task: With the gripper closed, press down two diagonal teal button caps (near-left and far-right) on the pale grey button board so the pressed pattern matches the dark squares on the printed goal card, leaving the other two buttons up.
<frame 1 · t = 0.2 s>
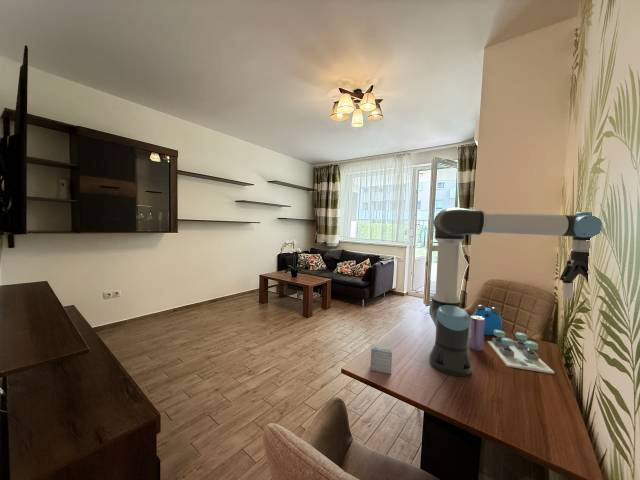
hand: (578, 303, 102), 27 cm above the table, fingers open, 13 cm apart
button 2: (531, 347, 110), point 5 cm above the table, slide at 0.0 cm
alarm clock: (485, 333, 136), on the table
button 4: (521, 338, 118), point 5 cm above the table, slide at 0.0 cm
beverage can: (475, 348, 119), on the table
medicine box: (380, 370, 99), on the table
board: (517, 356, 112), on the table
button 3: (499, 335, 121), point 5 cm above the table, slide at 0.0 cm
button 1: (507, 344, 112), point 5 cm above the table, slide at 0.0 cm
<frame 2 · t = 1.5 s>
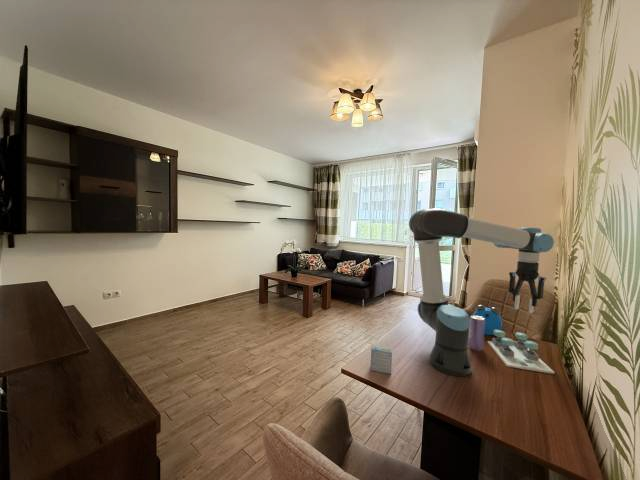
hand: (523, 310, 118), 19 cm above the table, fingers open, 5 cm apart
nothing on the table moved.
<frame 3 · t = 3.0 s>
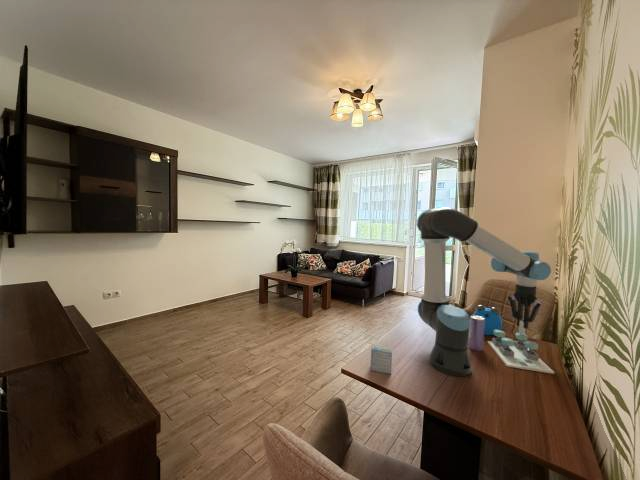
hand: (521, 334, 118), 7 cm above the table, fingers closed
button 4: (521, 338, 119), point 5 cm above the table, slide at 0.2 cm, touching gripper
everything else where it was.
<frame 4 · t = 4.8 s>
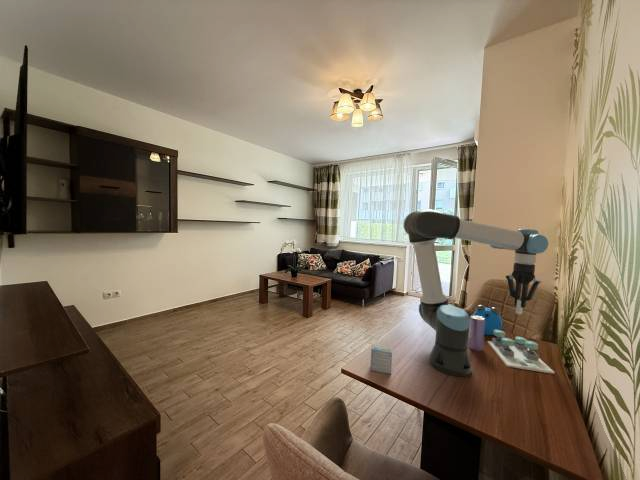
hand: (518, 313, 116), 18 cm above the table, fingers closed
button 4: (520, 342, 119), point 3 cm above the table, slide at 2.1 cm
everything else where it was.
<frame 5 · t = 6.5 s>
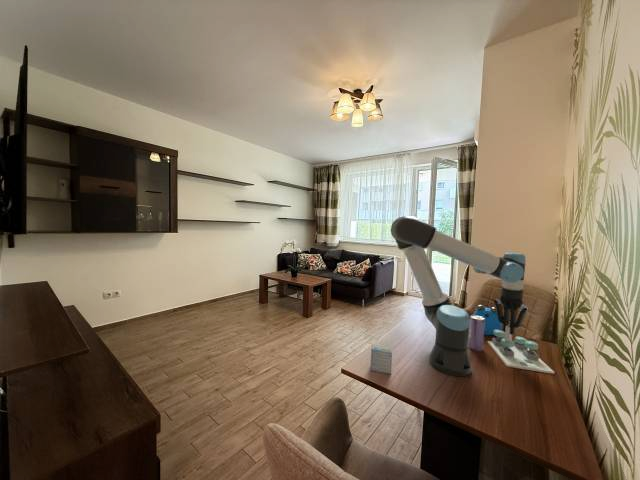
hand: (508, 340, 112), 7 cm above the table, fingers closed
button 1: (507, 345, 112), point 5 cm above the table, slide at 0.4 cm, touching gripper
everything else where it was.
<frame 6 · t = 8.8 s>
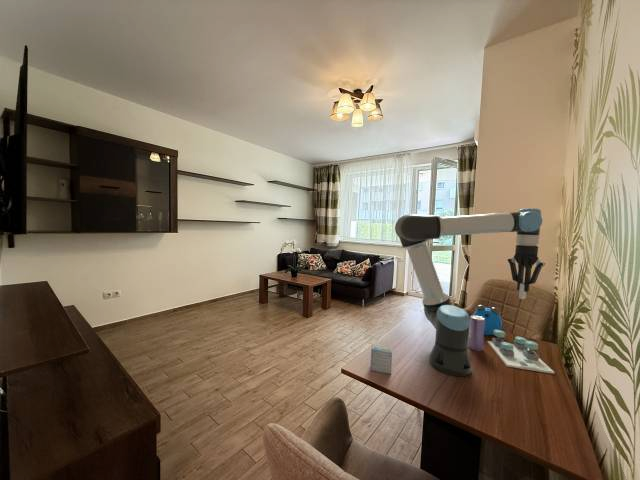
hand: (522, 298, 110), 26 cm above the table, fingers closed
button 1: (506, 348, 112), point 3 cm above the table, slide at 2.1 cm
everything else where it was.
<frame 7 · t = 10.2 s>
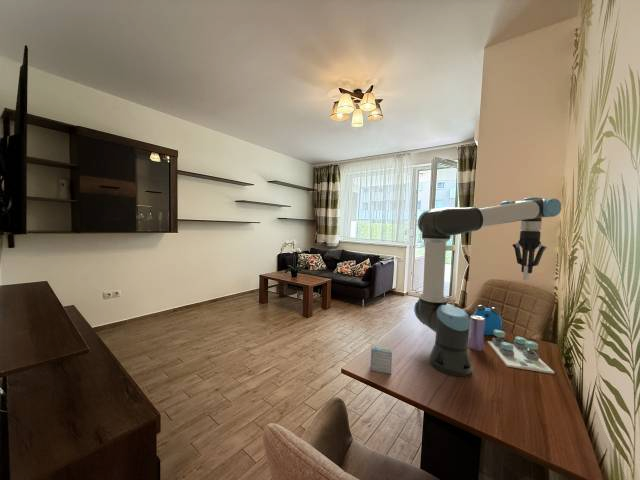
hand: (526, 279, 122), 32 cm above the table, fingers closed
nothing on the table moved.
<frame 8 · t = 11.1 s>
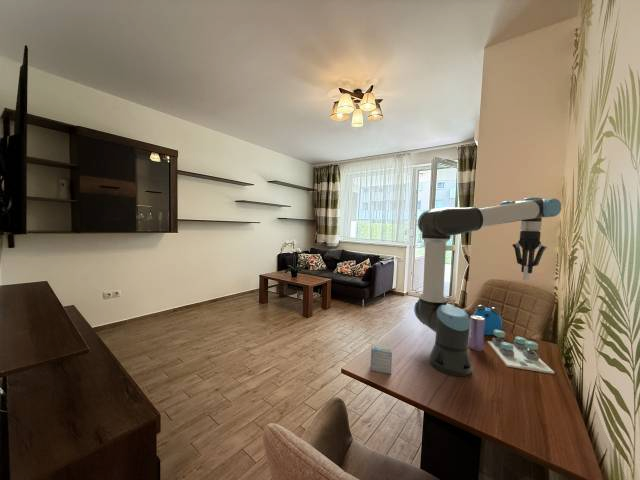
hand: (525, 279, 122), 32 cm above the table, fingers closed
nothing on the table moved.
at the end: button 1 slide at 2.1 cm; button 4 slide at 2.1 cm; button 2 slide at 0.0 cm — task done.
